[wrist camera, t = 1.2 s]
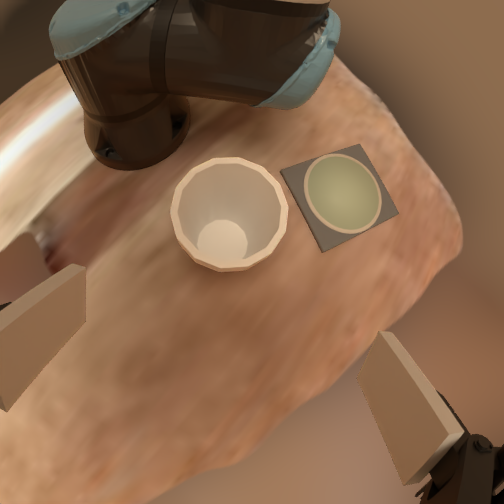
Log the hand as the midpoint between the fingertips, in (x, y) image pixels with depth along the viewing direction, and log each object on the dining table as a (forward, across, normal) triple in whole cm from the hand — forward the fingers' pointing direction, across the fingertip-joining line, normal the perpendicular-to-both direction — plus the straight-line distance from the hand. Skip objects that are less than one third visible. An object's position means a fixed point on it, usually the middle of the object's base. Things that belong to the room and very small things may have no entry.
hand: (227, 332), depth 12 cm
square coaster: (+30, +13, +6) cm, 33 cm away
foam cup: (+25, -2, -3) cm, 25 cm away
